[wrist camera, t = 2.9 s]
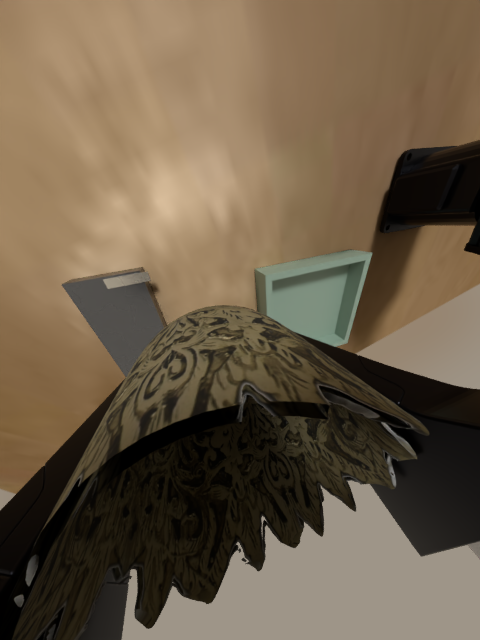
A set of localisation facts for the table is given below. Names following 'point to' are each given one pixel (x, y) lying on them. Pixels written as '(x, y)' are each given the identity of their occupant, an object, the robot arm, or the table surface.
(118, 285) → the grey l-bracket
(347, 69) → the table surface
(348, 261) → the tray
